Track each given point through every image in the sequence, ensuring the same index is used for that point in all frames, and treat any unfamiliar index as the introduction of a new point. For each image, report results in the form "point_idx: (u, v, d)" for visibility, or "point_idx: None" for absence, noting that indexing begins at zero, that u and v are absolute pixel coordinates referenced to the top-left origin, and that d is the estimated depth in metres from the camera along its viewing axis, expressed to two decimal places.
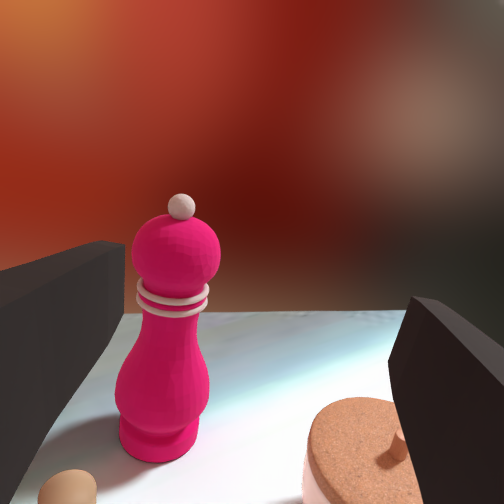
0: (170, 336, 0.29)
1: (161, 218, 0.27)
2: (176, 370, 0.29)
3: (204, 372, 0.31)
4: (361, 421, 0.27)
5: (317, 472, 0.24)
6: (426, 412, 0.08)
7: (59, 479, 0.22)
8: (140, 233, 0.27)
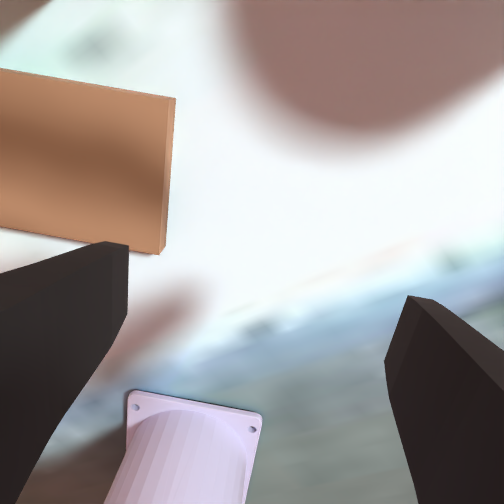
0: None
1: None
2: None
3: None
4: None
5: None
6: (421, 410, 0.08)
7: None
8: None
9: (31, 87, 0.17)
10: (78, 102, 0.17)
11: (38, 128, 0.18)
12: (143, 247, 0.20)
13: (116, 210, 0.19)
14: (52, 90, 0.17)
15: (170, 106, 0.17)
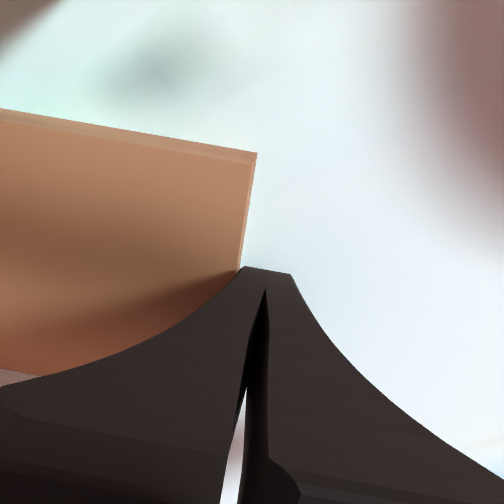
0: None
1: None
2: None
3: None
4: None
5: None
6: (252, 379, 0.08)
7: None
8: None
9: None
10: (79, 166, 0.09)
11: (6, 209, 0.10)
12: None
13: None
14: (29, 144, 0.09)
15: (251, 173, 0.09)
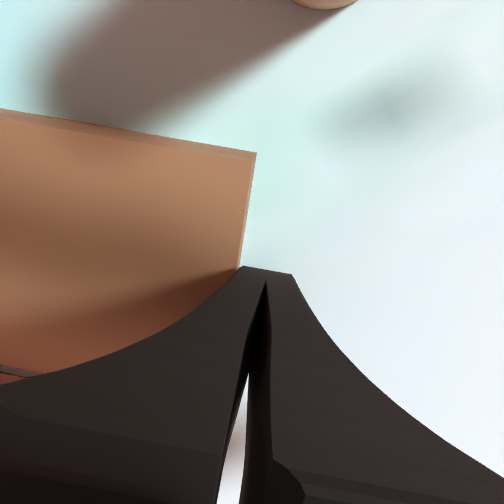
0: None
1: None
2: None
3: None
4: None
5: None
6: (254, 380, 0.08)
7: None
8: None
9: None
10: (82, 164, 0.09)
11: (9, 206, 0.10)
12: None
13: None
14: (33, 142, 0.09)
15: (252, 171, 0.09)
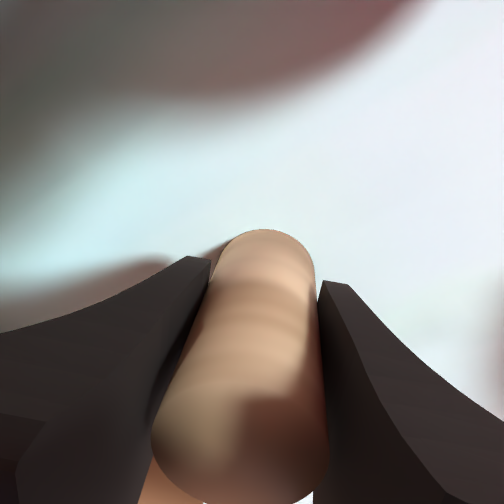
0: None
1: None
2: None
3: None
4: None
5: None
6: None
7: (192, 414, 0.06)
8: None
9: None
10: None
11: None
12: None
13: None
14: None
15: None
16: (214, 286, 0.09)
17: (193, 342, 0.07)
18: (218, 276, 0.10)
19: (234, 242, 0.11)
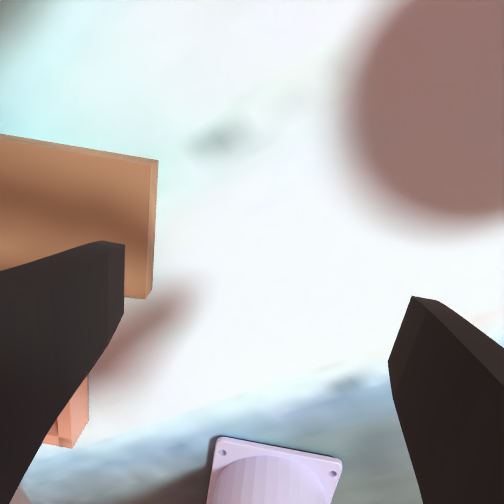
0: None
1: None
2: None
3: None
4: None
5: None
6: (426, 412, 0.08)
7: None
8: None
9: (26, 153, 0.19)
10: (69, 166, 0.19)
11: (33, 188, 0.19)
12: (130, 292, 0.21)
13: None
14: (45, 156, 0.19)
15: (152, 169, 0.19)
16: None
17: None
18: None
19: None
